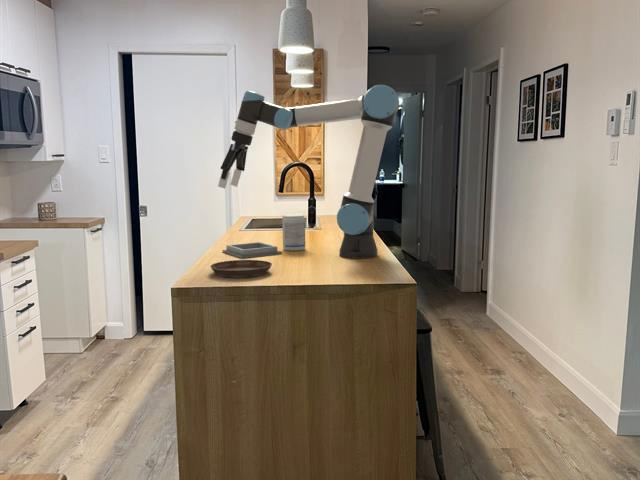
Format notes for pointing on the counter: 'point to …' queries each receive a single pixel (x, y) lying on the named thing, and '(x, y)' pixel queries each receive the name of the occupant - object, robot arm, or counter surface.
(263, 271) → the plant saucer
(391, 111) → the robot arm
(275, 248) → the board
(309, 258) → the counter surface
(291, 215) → the supplement tub
